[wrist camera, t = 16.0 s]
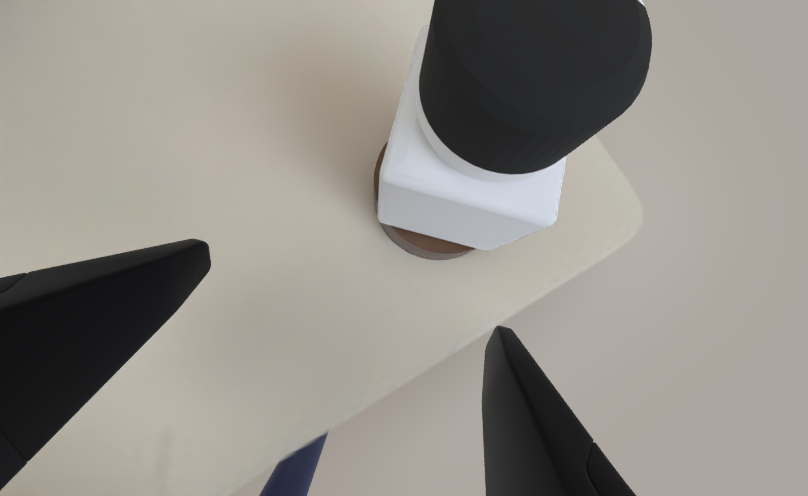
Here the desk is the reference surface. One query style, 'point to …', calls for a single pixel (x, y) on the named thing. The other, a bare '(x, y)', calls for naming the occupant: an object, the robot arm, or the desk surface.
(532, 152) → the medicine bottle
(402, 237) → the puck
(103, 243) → the desk surface
